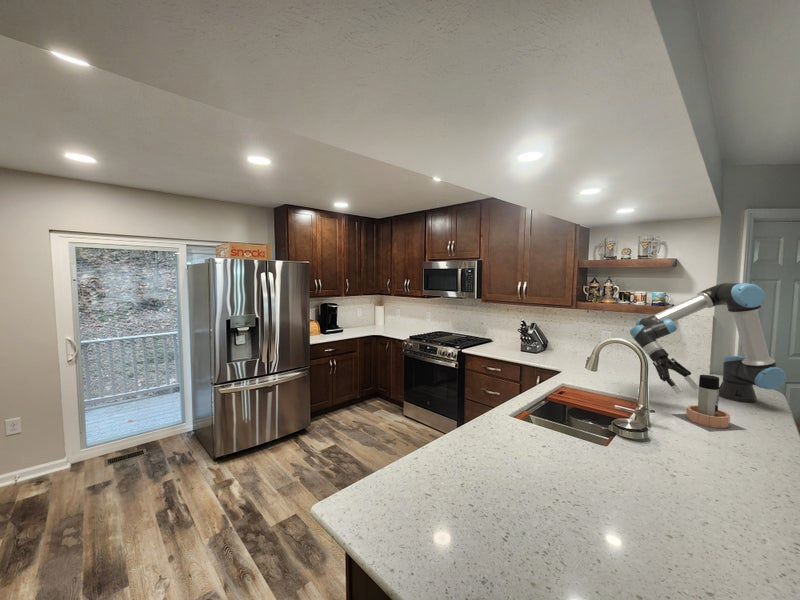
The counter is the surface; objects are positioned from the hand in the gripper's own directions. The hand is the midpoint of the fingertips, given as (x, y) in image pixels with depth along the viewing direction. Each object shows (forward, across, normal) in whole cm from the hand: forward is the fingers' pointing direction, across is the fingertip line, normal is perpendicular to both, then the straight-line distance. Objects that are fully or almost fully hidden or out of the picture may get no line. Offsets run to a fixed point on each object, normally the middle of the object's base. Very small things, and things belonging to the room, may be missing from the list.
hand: (688, 390), depth 156 cm
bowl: (+14, 0, -3) cm, 14 cm away
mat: (+14, 0, -4) cm, 15 cm away
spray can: (+13, 0, -3) cm, 14 cm away
